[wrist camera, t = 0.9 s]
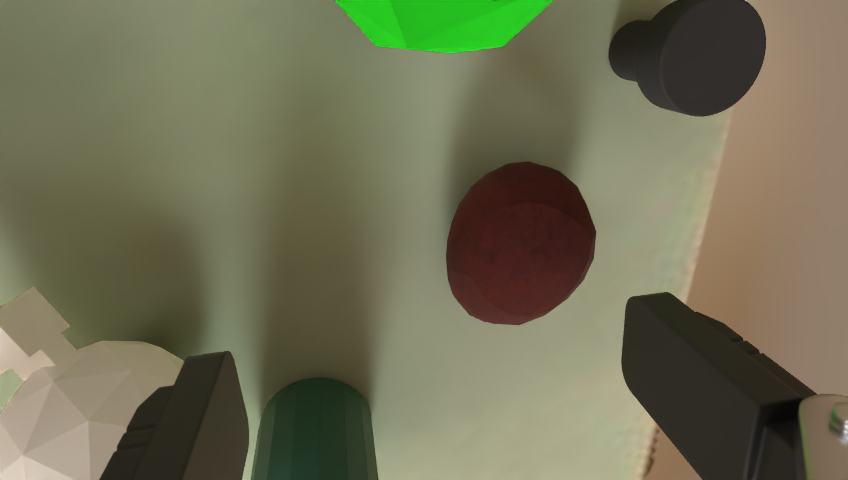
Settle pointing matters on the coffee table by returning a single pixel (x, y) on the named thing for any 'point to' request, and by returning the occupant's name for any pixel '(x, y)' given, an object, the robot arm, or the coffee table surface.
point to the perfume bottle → (69, 393)
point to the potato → (519, 244)
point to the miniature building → (442, 22)
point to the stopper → (692, 54)
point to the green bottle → (315, 434)
